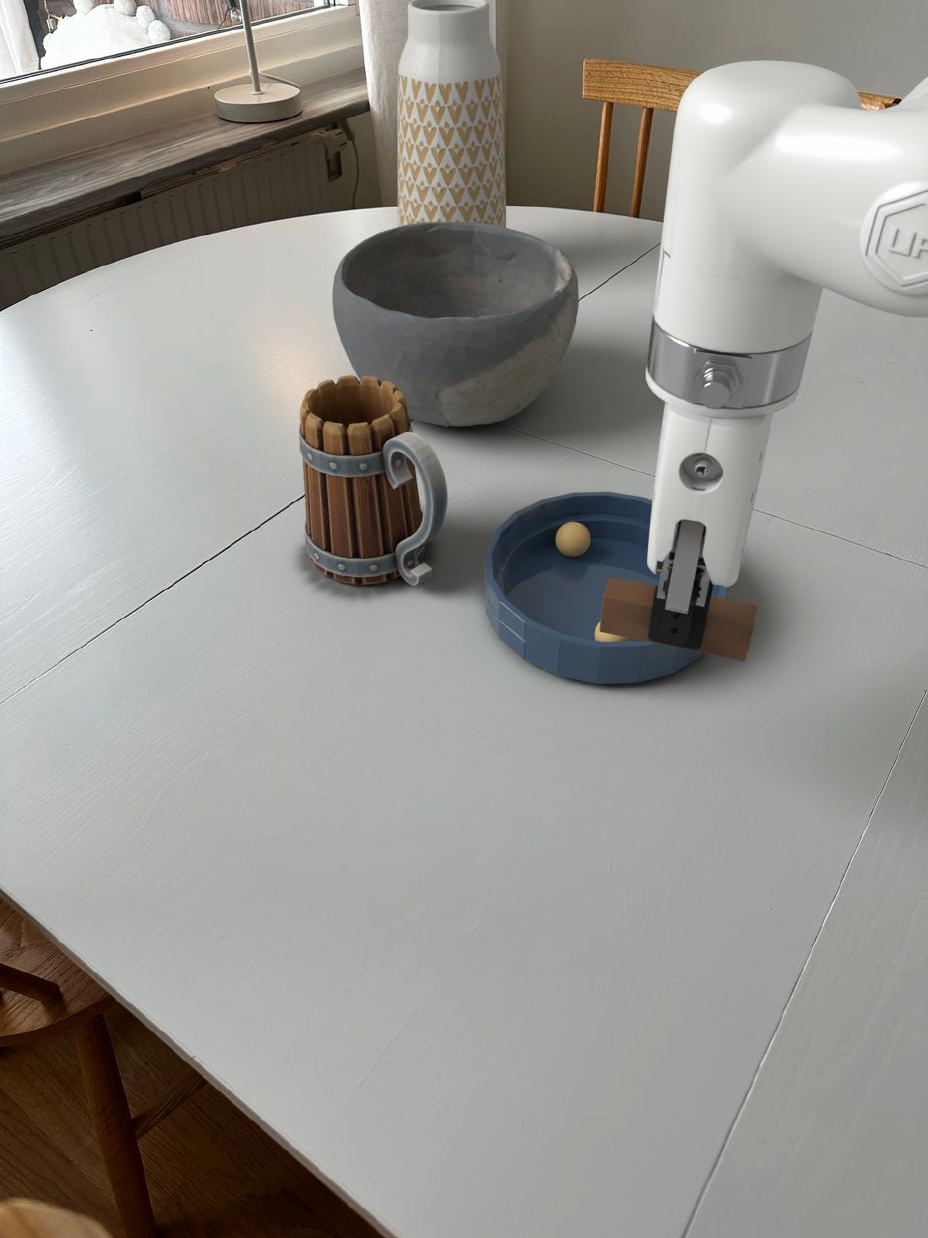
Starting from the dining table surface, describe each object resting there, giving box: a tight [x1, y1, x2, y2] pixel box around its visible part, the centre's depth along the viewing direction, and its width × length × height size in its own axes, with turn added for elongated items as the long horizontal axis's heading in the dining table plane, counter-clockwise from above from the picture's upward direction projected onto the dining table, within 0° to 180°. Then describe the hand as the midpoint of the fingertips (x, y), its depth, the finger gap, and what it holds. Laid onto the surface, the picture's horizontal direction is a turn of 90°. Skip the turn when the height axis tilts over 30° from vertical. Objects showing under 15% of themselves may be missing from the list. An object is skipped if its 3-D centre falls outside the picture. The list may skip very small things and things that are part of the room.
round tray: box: [483, 491, 729, 685], centre depth 79 cm, size 19×19×4 cm
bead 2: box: [595, 622, 634, 642], centre depth 75 cm, size 3×3×3 cm
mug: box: [298, 374, 449, 586], centre depth 80 cm, size 16×11×15 cm
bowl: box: [332, 222, 580, 428], centre depth 100 cm, size 24×24×15 cm
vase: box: [396, 0, 507, 228], centre depth 118 cm, size 14×14×31 cm
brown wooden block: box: [599, 577, 758, 662], centre depth 60 cm, size 9×2×3 cm, turn 72°
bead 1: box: [556, 522, 591, 557], centre depth 84 cm, size 3×3×3 cm
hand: (677, 626), depth 60 cm, fingers closed on brown wooden block, 2 cm apart
